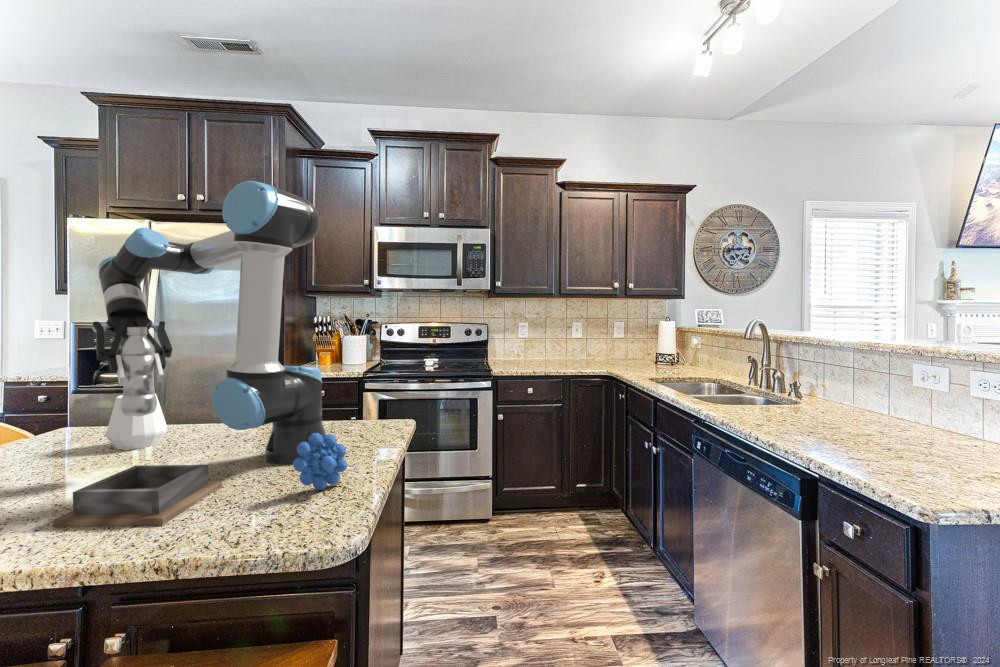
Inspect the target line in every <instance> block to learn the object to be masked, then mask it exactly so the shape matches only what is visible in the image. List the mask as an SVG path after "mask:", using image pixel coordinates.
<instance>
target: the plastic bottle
mask: <svg viewBox="0 0 1000 667" xmlns="http://www.w3.org/2000/svg"><path fill="white" fill-rule="evenodd" d="M127 335H128V338H127V339H126V340H125V341H124V342H123V344H121V346H120V348H119V355H121V360H122V365H123V370H124V375H125V380H124V385H123V390H122V395H123V397H122V401H121V409H122V412H123V413H124V414H125V415H127V416H143V415H147V414H150V413H153V412H154V411H155V409H156V406H157V399H156V395H157V394H156V393H155V384H154V359H155V347H154V345H153V344H152V343H151V342H150V341H149V340H148V338H147V336H146V335H148V333H147V327H127ZM155 394H156V395H155Z"/></svg>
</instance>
